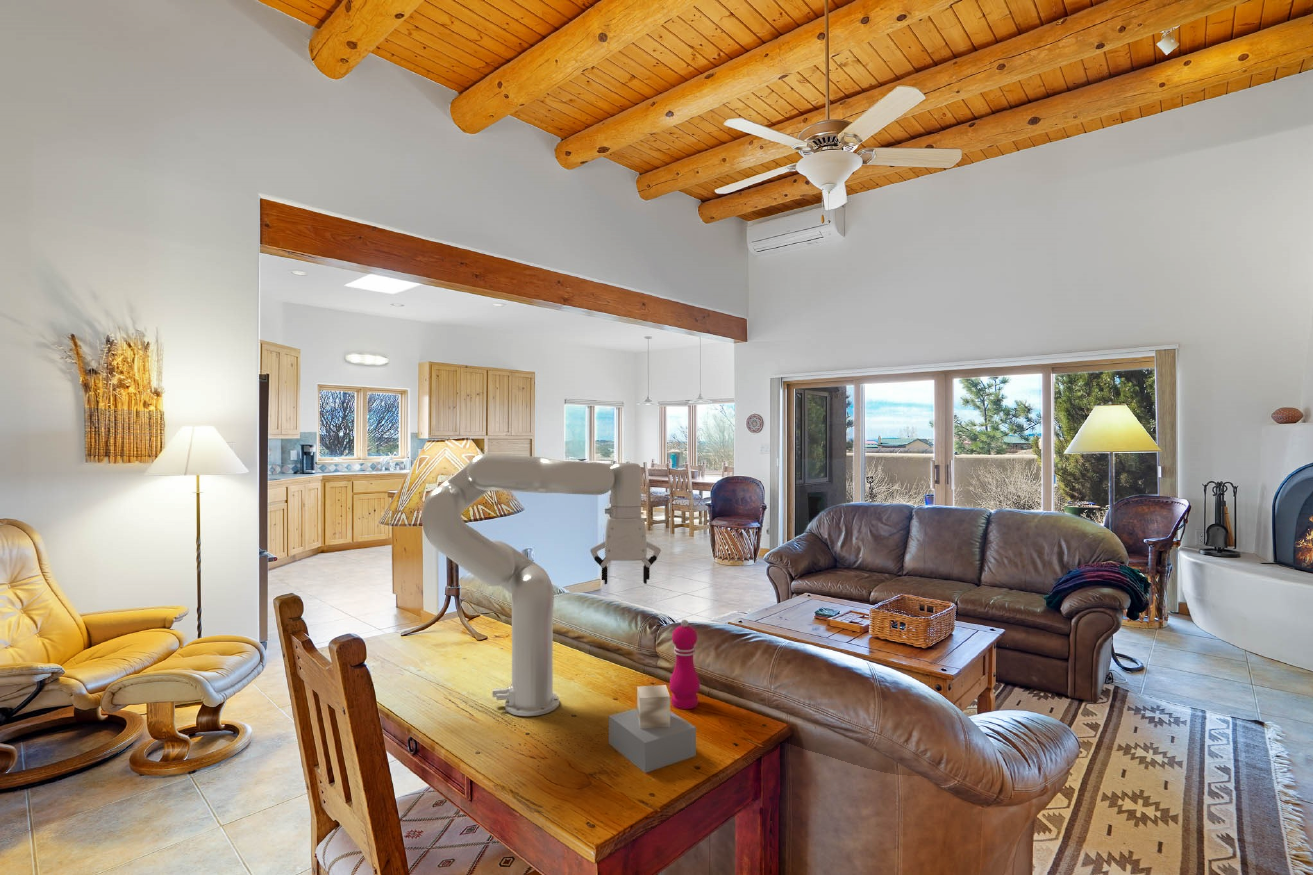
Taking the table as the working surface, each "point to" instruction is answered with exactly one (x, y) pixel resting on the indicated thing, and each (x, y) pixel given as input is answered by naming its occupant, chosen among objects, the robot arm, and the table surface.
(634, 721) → the slate block
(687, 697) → the pepper mill
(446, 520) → the robot arm
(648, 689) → the cream block
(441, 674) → the table surface
